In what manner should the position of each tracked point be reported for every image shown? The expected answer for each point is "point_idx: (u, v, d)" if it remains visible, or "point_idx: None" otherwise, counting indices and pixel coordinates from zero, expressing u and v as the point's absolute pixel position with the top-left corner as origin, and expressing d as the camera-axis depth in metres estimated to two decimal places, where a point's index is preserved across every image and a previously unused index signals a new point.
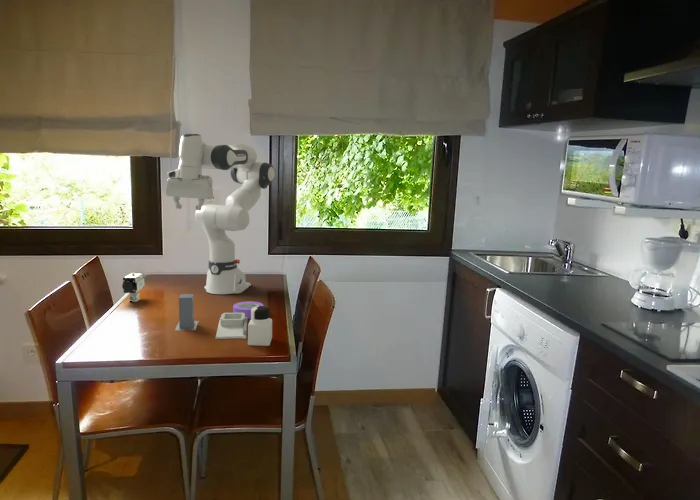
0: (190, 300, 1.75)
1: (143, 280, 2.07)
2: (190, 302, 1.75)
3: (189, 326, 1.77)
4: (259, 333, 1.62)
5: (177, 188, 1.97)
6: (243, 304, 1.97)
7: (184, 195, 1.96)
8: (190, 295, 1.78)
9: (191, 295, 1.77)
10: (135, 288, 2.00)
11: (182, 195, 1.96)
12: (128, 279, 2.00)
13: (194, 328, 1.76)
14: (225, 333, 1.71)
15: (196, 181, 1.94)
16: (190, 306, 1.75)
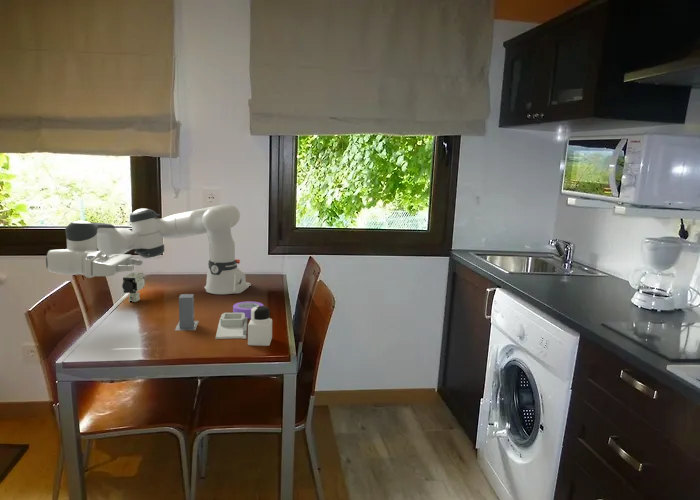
0: (190, 300, 1.75)
1: (143, 280, 2.07)
2: (190, 302, 1.75)
3: (189, 326, 1.77)
4: (259, 333, 1.62)
5: (109, 261, 1.68)
6: (243, 304, 1.97)
7: (120, 260, 1.72)
8: (190, 295, 1.78)
9: (191, 295, 1.77)
10: (135, 288, 2.00)
11: (119, 260, 1.71)
12: (128, 279, 2.00)
13: (194, 328, 1.76)
14: (225, 333, 1.71)
15: (109, 256, 1.77)
16: (190, 306, 1.75)
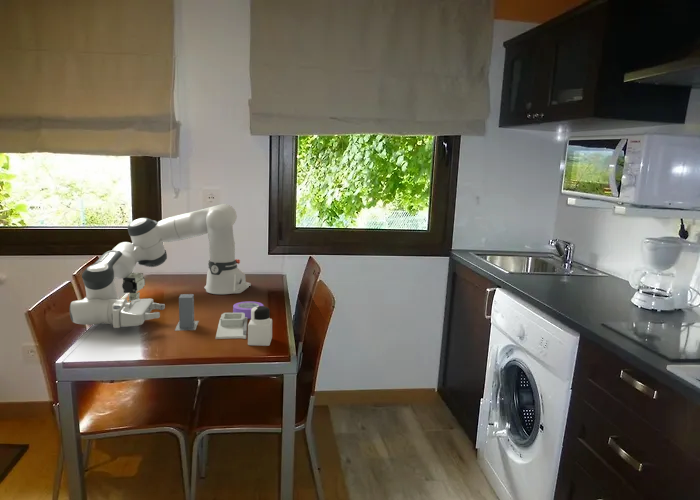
0: (190, 300, 1.75)
1: (143, 280, 2.07)
2: (190, 302, 1.75)
3: (189, 326, 1.77)
4: (259, 333, 1.62)
5: (135, 309, 1.70)
6: (243, 304, 1.97)
7: (145, 307, 1.73)
8: (190, 295, 1.78)
9: (191, 295, 1.77)
10: (135, 288, 2.00)
11: (144, 307, 1.73)
12: (128, 279, 2.00)
13: (194, 328, 1.76)
14: (225, 333, 1.71)
15: (131, 302, 1.78)
16: (190, 306, 1.75)
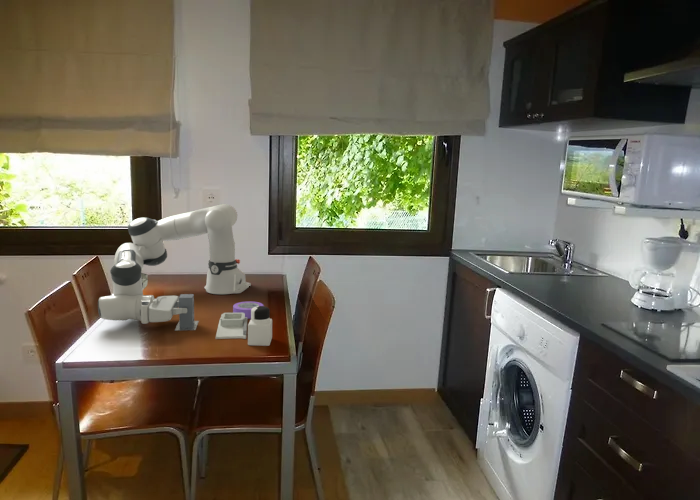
0: (190, 300, 1.75)
1: (147, 281, 2.08)
2: (190, 302, 1.75)
3: (189, 326, 1.77)
4: (259, 333, 1.62)
5: (162, 306, 1.71)
6: (243, 304, 1.97)
7: (172, 303, 1.75)
8: (190, 295, 1.78)
9: (191, 295, 1.77)
10: None
11: (171, 304, 1.74)
12: None
13: (194, 328, 1.76)
14: (225, 333, 1.71)
15: (157, 299, 1.79)
16: (190, 306, 1.75)
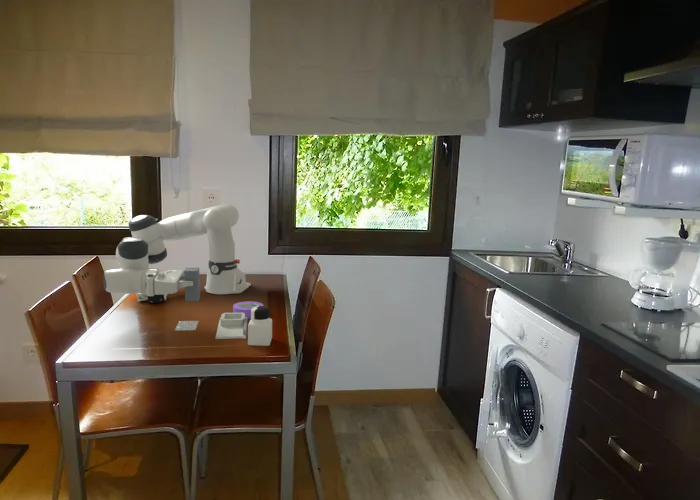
0: (195, 273, 1.73)
1: None
2: (196, 275, 1.73)
3: (195, 300, 1.75)
4: (259, 333, 1.62)
5: (168, 278, 1.70)
6: (243, 304, 1.97)
7: (177, 276, 1.73)
8: (195, 268, 1.76)
9: (196, 268, 1.75)
10: (153, 302, 2.03)
11: (177, 277, 1.73)
12: None
13: (194, 328, 1.76)
14: (225, 333, 1.71)
15: None
16: (196, 279, 1.73)
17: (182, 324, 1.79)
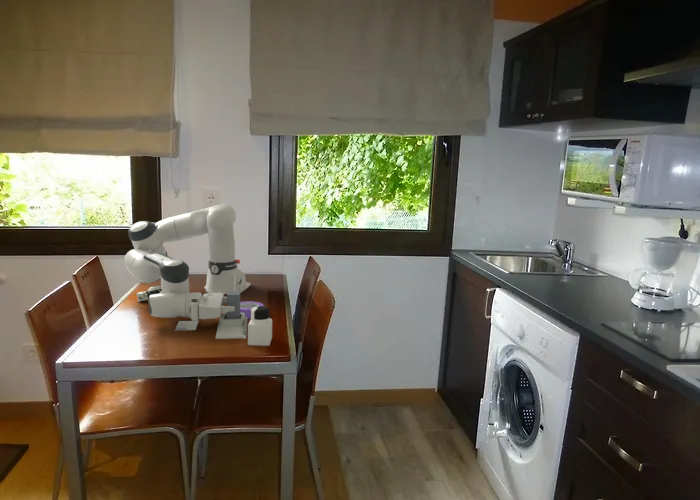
0: (238, 297, 1.78)
1: None
2: (237, 299, 1.78)
3: None
4: (259, 333, 1.62)
5: (211, 303, 1.74)
6: (243, 304, 1.97)
7: (219, 300, 1.78)
8: (237, 292, 1.81)
9: (238, 292, 1.80)
10: None
11: (219, 301, 1.77)
12: None
13: (194, 328, 1.76)
14: (225, 333, 1.71)
15: (204, 296, 1.82)
16: (237, 303, 1.78)
17: (182, 324, 1.79)
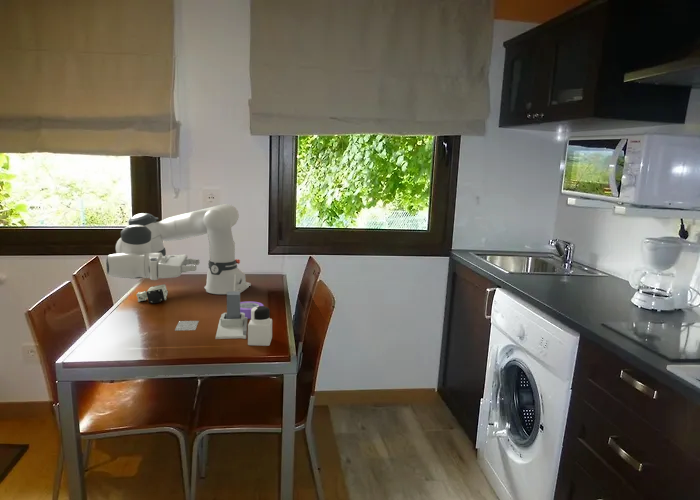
0: (238, 297, 1.78)
1: None
2: (237, 299, 1.78)
3: None
4: (259, 333, 1.62)
5: (171, 262, 1.69)
6: (243, 304, 1.97)
7: (181, 260, 1.72)
8: (237, 292, 1.81)
9: (238, 292, 1.80)
10: (153, 302, 2.03)
11: (180, 261, 1.71)
12: (161, 294, 2.03)
13: (194, 328, 1.76)
14: (225, 333, 1.71)
15: None
16: (237, 303, 1.78)
17: (182, 324, 1.79)
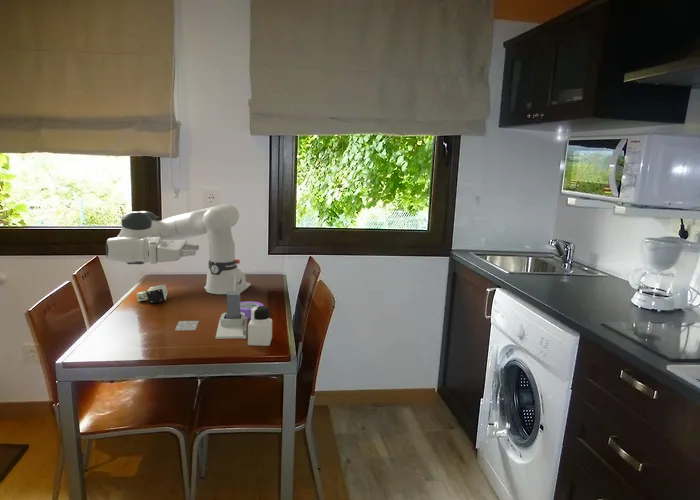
0: (238, 297, 1.78)
1: None
2: (237, 299, 1.78)
3: None
4: (259, 333, 1.62)
5: (171, 247, 1.68)
6: (243, 304, 1.97)
7: (180, 245, 1.72)
8: (237, 292, 1.81)
9: (238, 292, 1.80)
10: (153, 302, 2.03)
11: (180, 245, 1.71)
12: (161, 294, 2.03)
13: (194, 328, 1.76)
14: (225, 333, 1.71)
15: None
16: (237, 303, 1.78)
17: (182, 324, 1.79)
